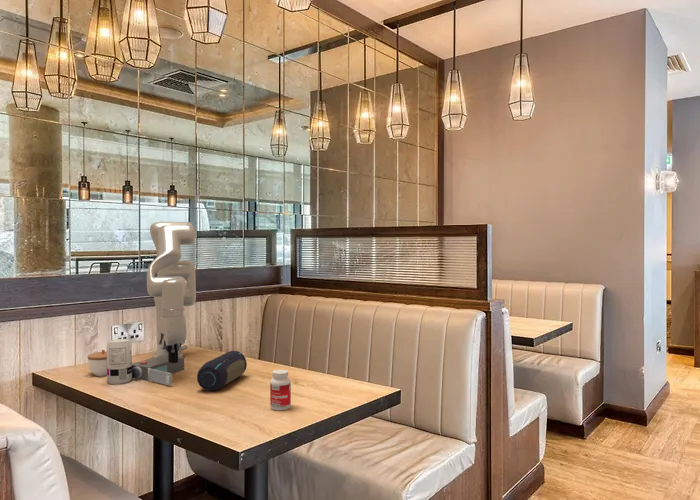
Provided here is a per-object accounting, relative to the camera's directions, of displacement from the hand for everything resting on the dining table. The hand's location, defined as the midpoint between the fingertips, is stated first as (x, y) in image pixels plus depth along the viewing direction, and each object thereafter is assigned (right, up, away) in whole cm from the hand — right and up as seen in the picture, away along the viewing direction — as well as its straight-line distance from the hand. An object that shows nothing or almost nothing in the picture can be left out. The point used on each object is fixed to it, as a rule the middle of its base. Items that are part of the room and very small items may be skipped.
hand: (173, 362), depth 189 cm
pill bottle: (+44, -7, -33) cm, 55 cm away
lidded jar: (-30, -7, +9) cm, 32 cm away
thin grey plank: (-3, -6, -6) cm, 9 cm away
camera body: (-9, -6, +9) cm, 15 cm away
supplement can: (-19, -7, -2) cm, 20 cm away
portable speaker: (+20, -7, -5) cm, 21 cm away
